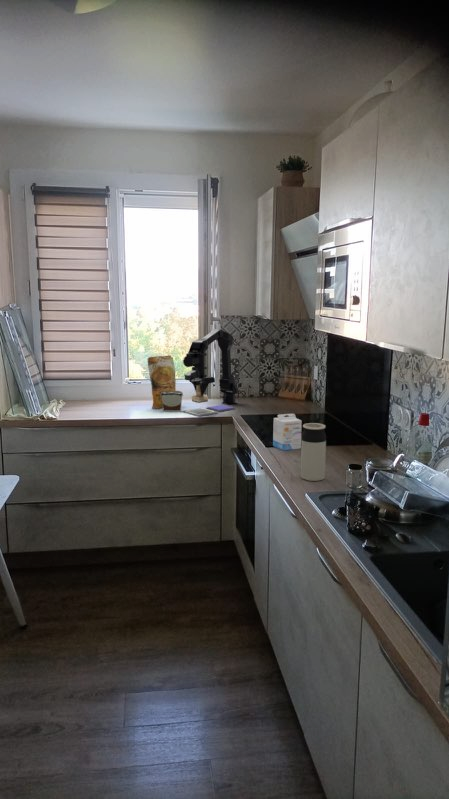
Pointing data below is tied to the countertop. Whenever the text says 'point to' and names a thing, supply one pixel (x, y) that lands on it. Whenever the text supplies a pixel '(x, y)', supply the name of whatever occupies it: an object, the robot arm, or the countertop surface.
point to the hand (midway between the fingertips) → (199, 394)
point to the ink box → (287, 432)
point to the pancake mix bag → (161, 377)
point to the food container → (171, 400)
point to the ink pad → (220, 408)
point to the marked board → (200, 412)
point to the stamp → (199, 396)
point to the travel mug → (313, 452)
